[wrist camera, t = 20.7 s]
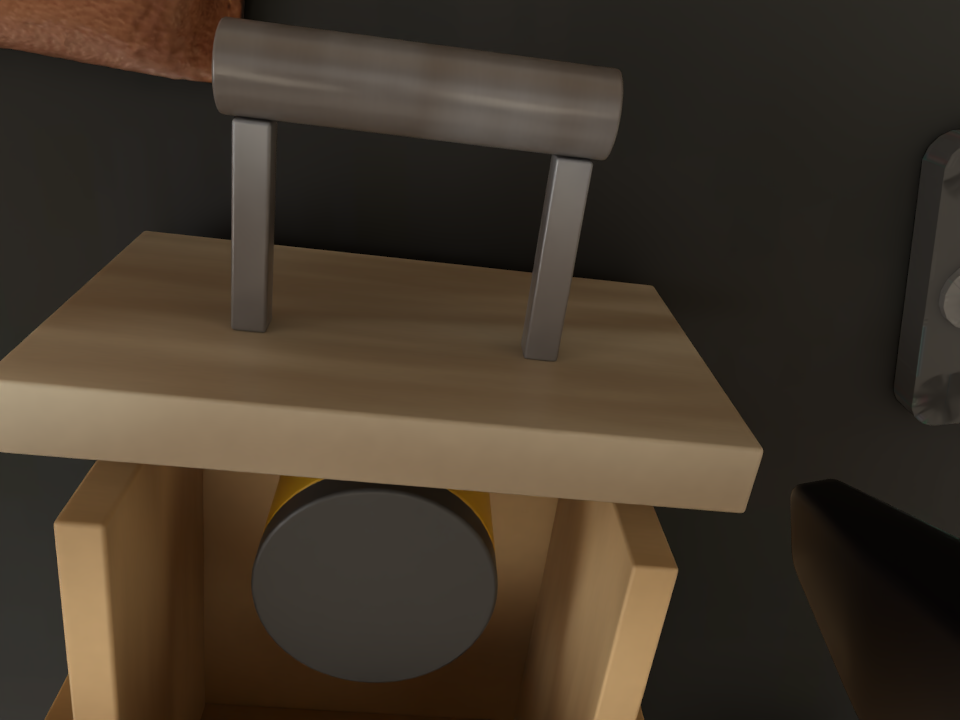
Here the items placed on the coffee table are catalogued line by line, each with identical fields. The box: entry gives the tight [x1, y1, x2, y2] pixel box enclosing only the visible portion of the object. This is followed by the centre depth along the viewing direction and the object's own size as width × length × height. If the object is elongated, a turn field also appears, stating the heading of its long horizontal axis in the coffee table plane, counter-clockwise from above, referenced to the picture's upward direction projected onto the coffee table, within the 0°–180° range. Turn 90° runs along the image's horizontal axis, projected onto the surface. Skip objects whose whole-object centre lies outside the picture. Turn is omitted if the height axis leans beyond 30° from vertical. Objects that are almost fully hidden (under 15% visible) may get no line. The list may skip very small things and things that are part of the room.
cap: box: [251, 475, 498, 683], centre depth 18 cm, size 5×5×4 cm
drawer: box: [0, 17, 763, 720], centre depth 17 cm, size 18×11×7 cm, turn 173°
